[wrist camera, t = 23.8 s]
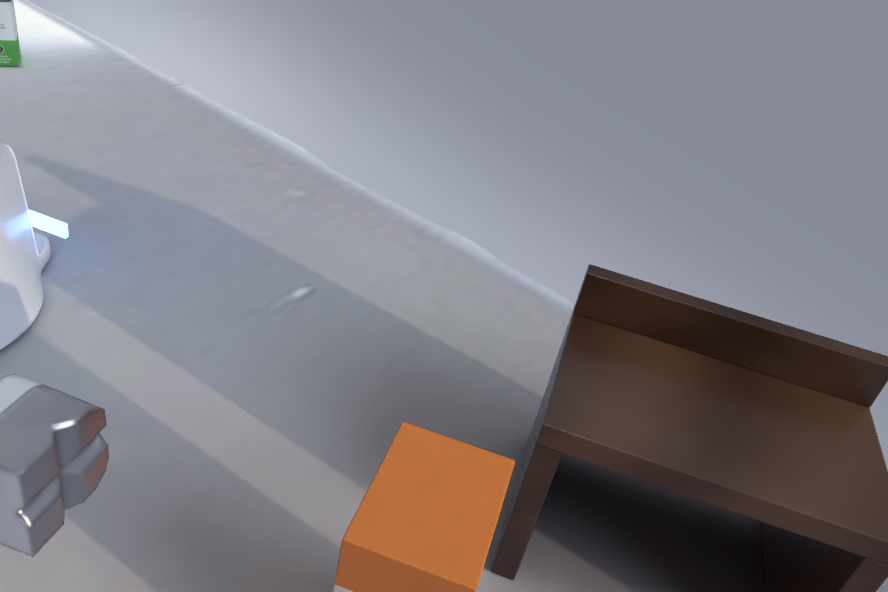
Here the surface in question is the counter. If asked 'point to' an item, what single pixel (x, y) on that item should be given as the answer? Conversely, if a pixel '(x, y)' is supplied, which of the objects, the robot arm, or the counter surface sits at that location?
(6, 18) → the ink box
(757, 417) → the brown wooden cabinet
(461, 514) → the packet
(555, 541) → the counter surface
